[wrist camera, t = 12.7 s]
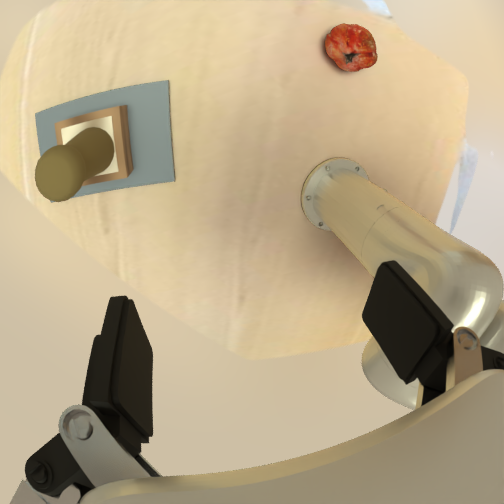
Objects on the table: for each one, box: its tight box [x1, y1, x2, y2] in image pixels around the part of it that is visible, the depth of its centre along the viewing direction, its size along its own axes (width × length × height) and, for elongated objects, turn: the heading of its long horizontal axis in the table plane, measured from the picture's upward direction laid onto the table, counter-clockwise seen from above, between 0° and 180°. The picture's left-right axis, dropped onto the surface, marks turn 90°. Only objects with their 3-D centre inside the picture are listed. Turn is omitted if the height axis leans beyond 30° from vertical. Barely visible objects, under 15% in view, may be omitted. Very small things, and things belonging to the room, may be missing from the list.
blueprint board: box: [35, 80, 175, 202], centre depth 30 cm, size 20×14×1 cm
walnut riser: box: [54, 105, 134, 186], centre depth 28 cm, size 9×9×4 cm
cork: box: [35, 127, 115, 202], centre depth 22 cm, size 6×6×11 cm
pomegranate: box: [325, 23, 377, 72], centre depth 27 cm, size 7×7×10 cm
